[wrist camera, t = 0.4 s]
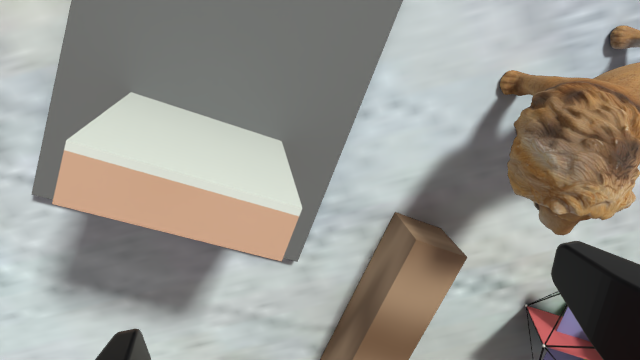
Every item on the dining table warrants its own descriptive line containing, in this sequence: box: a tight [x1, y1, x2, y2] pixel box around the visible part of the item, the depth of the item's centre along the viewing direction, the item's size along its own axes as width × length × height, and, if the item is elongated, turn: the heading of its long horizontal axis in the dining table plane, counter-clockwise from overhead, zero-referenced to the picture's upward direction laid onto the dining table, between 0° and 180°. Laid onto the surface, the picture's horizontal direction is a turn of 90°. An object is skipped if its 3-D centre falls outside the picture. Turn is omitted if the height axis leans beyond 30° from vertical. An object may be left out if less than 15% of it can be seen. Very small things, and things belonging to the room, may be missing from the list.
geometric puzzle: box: [525, 291, 603, 360], centre depth 26 cm, size 7×7×8 cm
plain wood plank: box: [320, 212, 467, 360], centre depth 25 cm, size 12×3×4 cm, turn 156°
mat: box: [32, 0, 403, 262], centre depth 21 cm, size 16×13×1 cm
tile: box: [52, 92, 302, 261], centre depth 17 cm, size 2×7×8 cm, turn 69°
